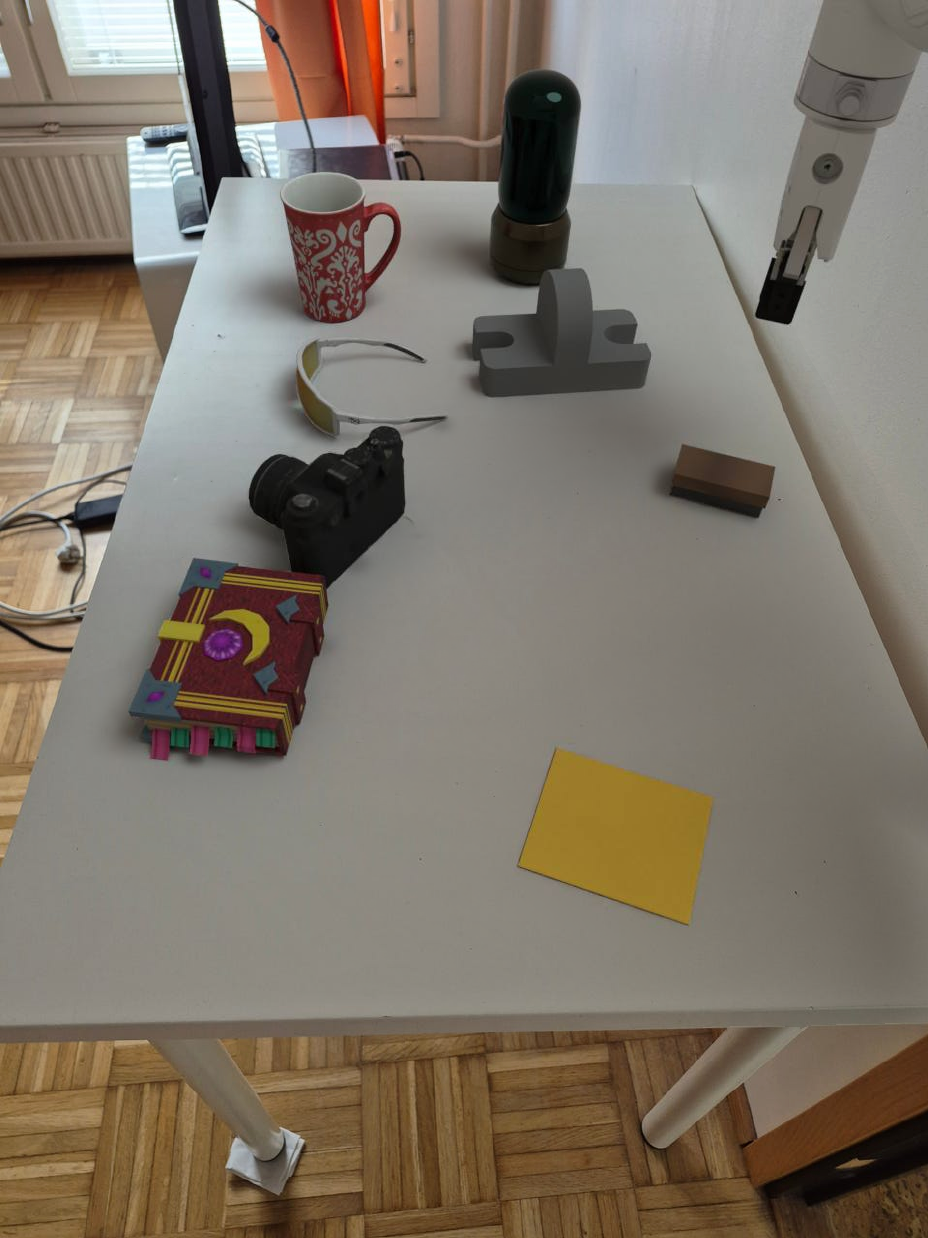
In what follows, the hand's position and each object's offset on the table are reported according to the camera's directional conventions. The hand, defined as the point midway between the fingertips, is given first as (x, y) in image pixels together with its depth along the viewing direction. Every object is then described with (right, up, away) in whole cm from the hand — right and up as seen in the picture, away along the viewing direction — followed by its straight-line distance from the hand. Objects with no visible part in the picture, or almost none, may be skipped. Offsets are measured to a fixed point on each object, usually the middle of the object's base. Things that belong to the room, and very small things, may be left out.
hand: (774, 310), depth 79 cm
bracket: (-17, 0, +19) cm, 26 cm away
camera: (-40, -19, +2) cm, 45 cm away
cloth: (-17, -43, -15) cm, 48 cm away
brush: (-3, -15, +7) cm, 17 cm away
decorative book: (-46, -32, -8) cm, 56 cm away
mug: (-41, +9, +25) cm, 49 cm away
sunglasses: (-38, -4, +14) cm, 41 cm away
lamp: (-20, +16, +32) cm, 41 cm away
